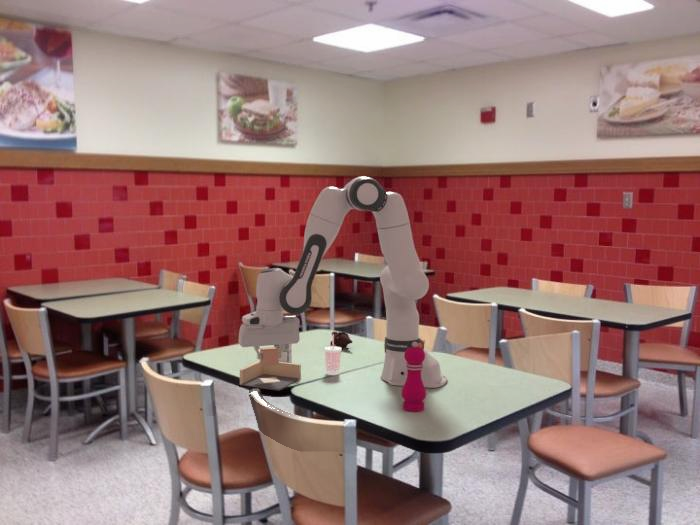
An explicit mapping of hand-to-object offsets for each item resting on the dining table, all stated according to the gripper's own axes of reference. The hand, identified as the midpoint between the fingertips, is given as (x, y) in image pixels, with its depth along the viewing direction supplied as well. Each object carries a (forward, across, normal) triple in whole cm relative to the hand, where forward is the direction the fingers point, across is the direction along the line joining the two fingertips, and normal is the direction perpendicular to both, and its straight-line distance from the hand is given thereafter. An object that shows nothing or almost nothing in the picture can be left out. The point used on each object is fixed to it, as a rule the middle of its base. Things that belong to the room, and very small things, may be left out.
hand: (269, 358), depth 213 cm
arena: (+8, 0, +1) cm, 8 cm away
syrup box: (+8, -11, -20) cm, 25 cm away
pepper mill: (+8, -32, +42) cm, 53 cm away
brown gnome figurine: (+8, -41, -37) cm, 56 cm away
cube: (+2, 0, 0) cm, 2 cm away
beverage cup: (+8, -24, -2) cm, 25 cm away
